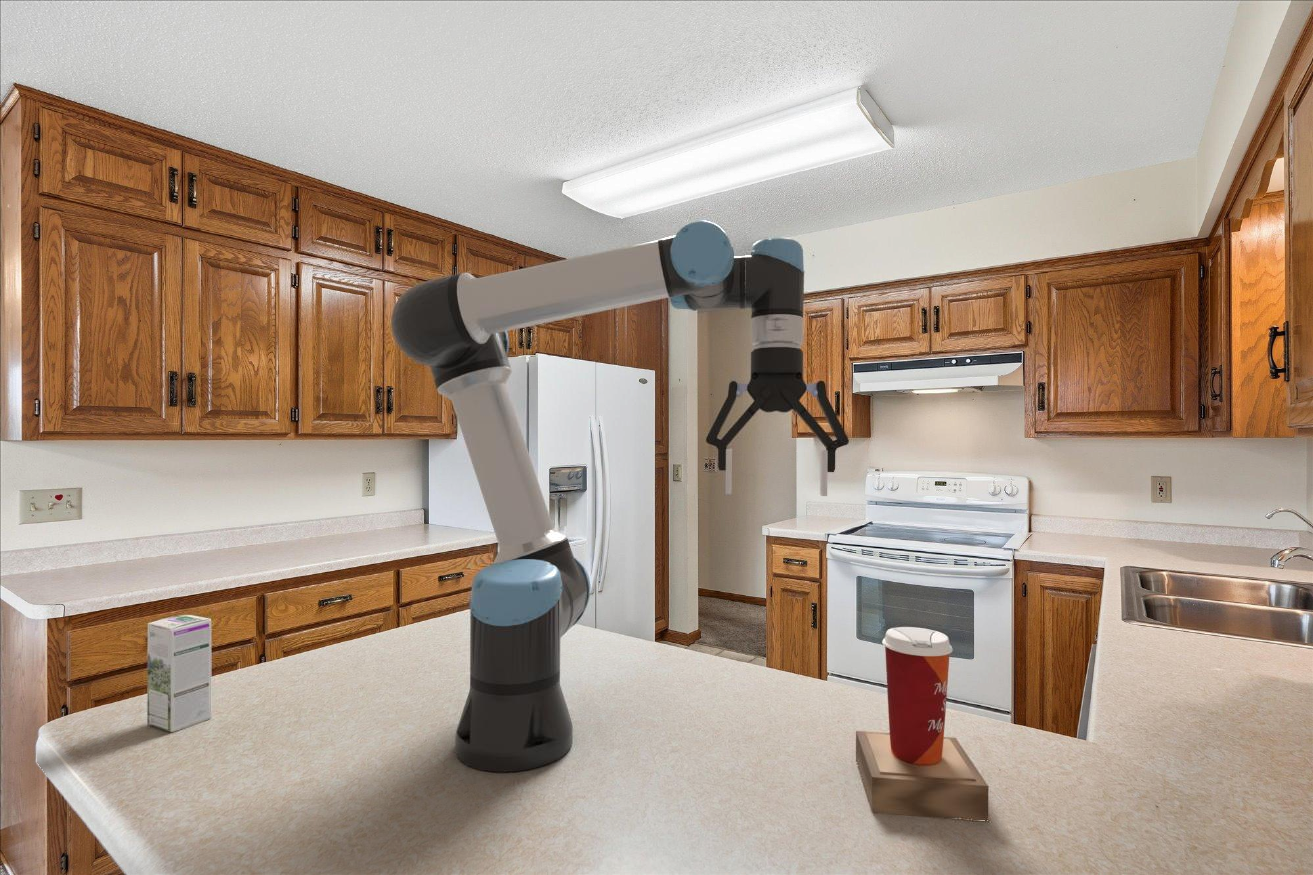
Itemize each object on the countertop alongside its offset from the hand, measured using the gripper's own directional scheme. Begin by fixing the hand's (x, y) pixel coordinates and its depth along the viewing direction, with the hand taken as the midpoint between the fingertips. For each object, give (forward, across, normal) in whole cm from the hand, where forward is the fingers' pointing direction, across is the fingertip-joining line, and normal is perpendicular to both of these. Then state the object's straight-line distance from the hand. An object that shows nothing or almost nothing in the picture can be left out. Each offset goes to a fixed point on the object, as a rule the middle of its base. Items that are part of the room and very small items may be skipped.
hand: (775, 494), depth 98 cm
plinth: (+33, +16, -17) cm, 40 cm away
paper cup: (+29, +16, -17) cm, 37 cm away
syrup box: (+33, -83, -15) cm, 91 cm away
